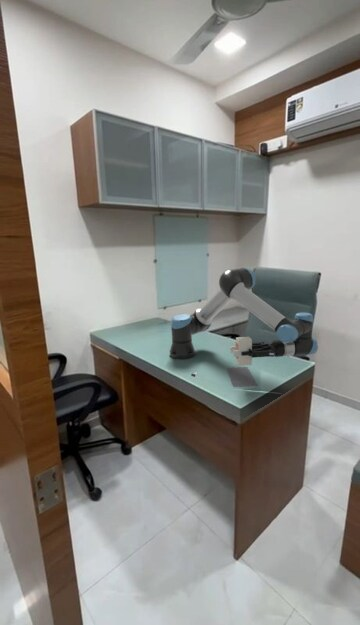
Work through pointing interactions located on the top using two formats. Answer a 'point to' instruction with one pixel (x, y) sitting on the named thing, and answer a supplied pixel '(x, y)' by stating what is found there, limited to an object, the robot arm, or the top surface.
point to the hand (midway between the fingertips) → (232, 351)
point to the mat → (241, 377)
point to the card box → (243, 344)
